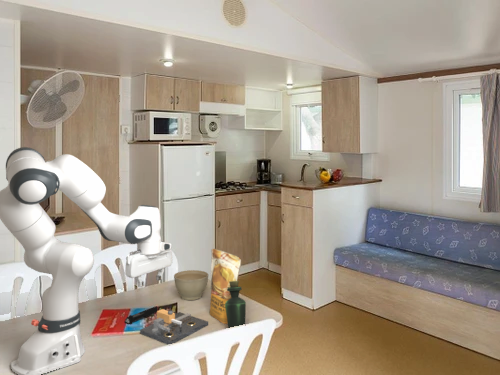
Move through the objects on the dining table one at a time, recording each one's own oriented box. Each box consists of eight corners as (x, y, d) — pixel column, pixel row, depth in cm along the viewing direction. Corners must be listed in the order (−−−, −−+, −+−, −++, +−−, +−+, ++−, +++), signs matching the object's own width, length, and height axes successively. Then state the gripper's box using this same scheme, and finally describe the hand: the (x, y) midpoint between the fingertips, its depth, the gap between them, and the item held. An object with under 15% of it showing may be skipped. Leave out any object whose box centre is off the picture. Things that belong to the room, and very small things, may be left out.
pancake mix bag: (217, 308, 182) (217, 246, 179) (241, 324, 167) (242, 256, 164) (204, 312, 178) (204, 248, 176) (227, 328, 163) (228, 258, 160)
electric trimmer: (159, 314, 177) (159, 306, 177) (129, 325, 165) (129, 318, 164) (154, 312, 179) (154, 304, 179) (123, 323, 167) (123, 315, 167)
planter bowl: (215, 297, 196) (215, 275, 195) (187, 306, 185) (186, 282, 184) (195, 288, 207) (195, 267, 206) (167, 296, 196) (167, 274, 195)
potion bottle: (250, 326, 162) (247, 279, 165) (243, 330, 154) (239, 281, 157) (231, 327, 164) (228, 281, 168) (223, 330, 157) (220, 282, 160)
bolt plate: (169, 345, 148) (169, 329, 147) (140, 333, 157) (139, 318, 156) (208, 325, 165) (208, 310, 164) (179, 315, 174) (179, 302, 174)
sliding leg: (178, 329, 156) (178, 316, 156) (156, 322, 163) (156, 309, 163) (184, 327, 159) (184, 313, 158) (162, 319, 166) (162, 306, 165)
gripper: (132, 254, 145) (133, 292, 146) (174, 243, 161) (175, 277, 163) (120, 251, 148) (122, 289, 150) (163, 241, 165) (164, 274, 166)
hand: (150, 283), depth 156 cm, fingers open, 8 cm apart
